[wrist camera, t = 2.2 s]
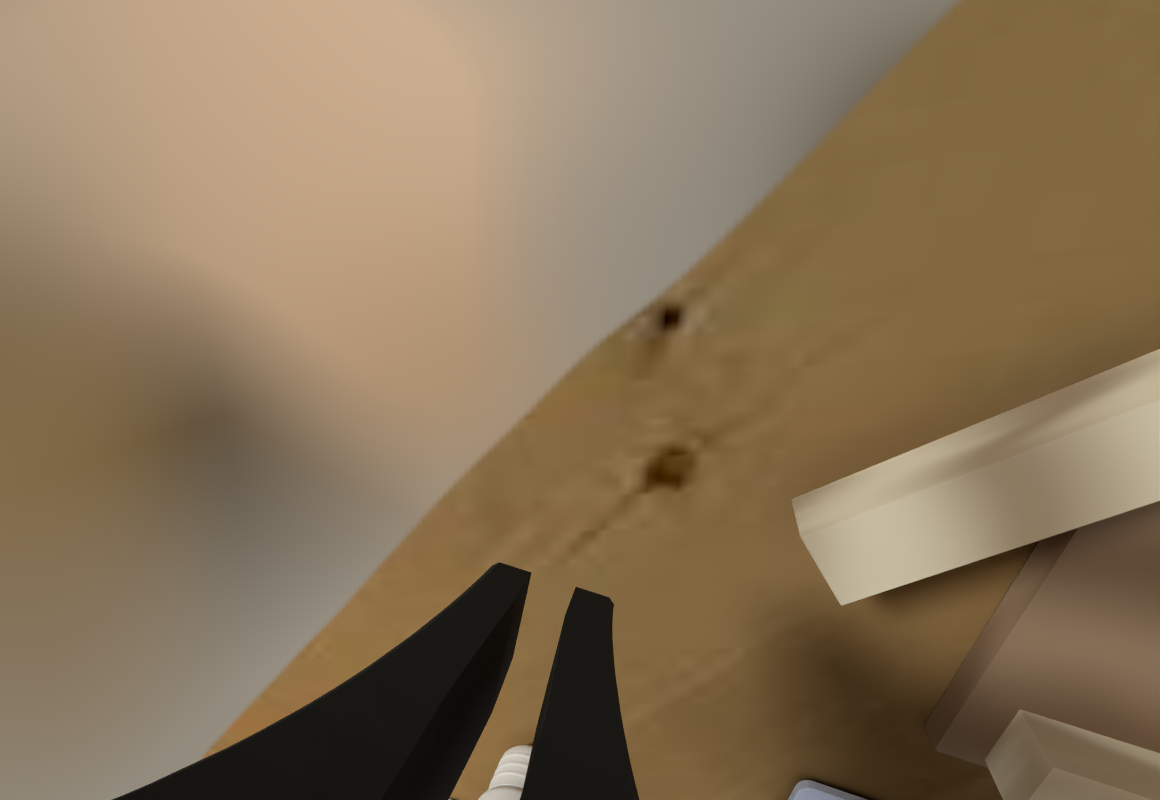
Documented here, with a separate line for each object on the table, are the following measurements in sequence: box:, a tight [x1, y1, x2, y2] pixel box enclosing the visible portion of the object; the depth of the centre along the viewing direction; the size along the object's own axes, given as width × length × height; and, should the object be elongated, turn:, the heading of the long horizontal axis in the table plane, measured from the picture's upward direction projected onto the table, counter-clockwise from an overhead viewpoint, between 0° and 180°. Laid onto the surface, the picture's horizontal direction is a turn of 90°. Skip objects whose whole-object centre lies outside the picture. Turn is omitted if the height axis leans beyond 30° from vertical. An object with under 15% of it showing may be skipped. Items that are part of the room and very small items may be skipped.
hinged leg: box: [791, 349, 1160, 606], centre depth 14 cm, size 12×2×2 cm, turn 123°
